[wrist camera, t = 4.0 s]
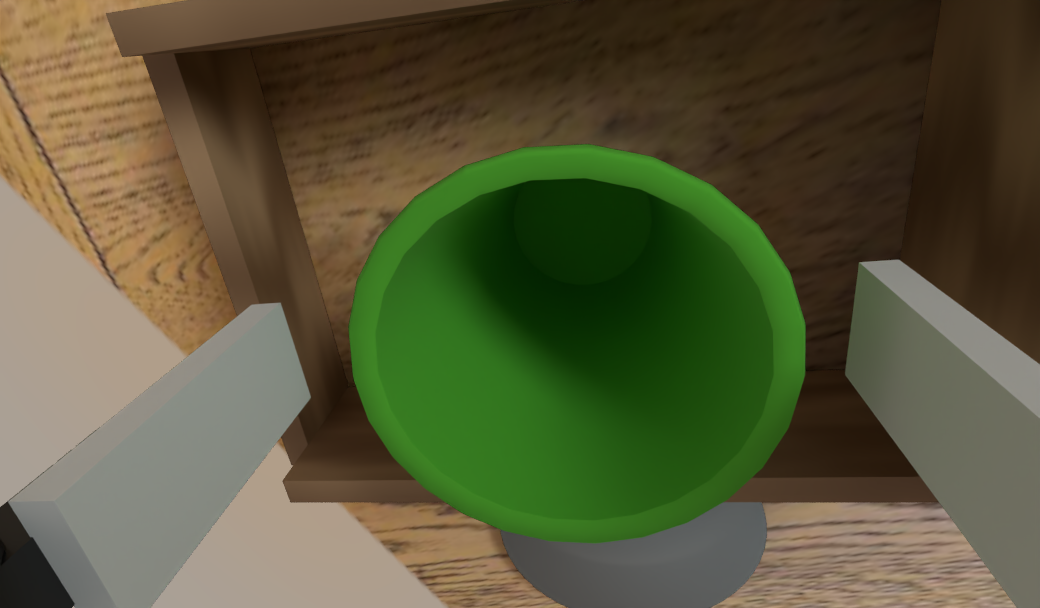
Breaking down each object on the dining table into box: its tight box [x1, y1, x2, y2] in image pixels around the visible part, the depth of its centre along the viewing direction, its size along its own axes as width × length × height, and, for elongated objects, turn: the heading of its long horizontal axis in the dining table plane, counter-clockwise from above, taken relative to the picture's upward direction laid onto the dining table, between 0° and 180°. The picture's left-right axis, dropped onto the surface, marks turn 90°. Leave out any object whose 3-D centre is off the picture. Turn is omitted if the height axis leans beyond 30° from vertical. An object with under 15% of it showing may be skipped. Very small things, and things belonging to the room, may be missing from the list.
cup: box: [348, 144, 806, 543], centre depth 16 cm, size 9×9×11 cm
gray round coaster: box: [500, 502, 767, 608], centre depth 27 cm, size 12×12×1 cm
